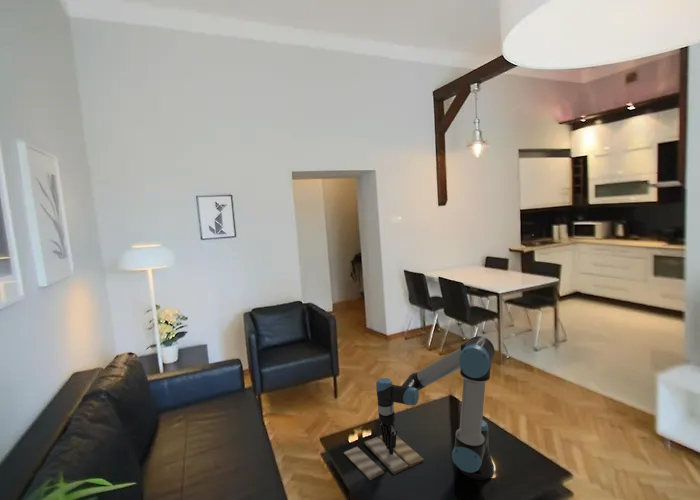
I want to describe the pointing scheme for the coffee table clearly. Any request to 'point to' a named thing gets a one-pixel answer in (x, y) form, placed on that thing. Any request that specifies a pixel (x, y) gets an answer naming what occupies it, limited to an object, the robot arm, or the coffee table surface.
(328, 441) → the coffee table surface
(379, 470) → the plank
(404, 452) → the laid board
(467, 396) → the robot arm
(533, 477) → the coffee table surface
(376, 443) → the board
